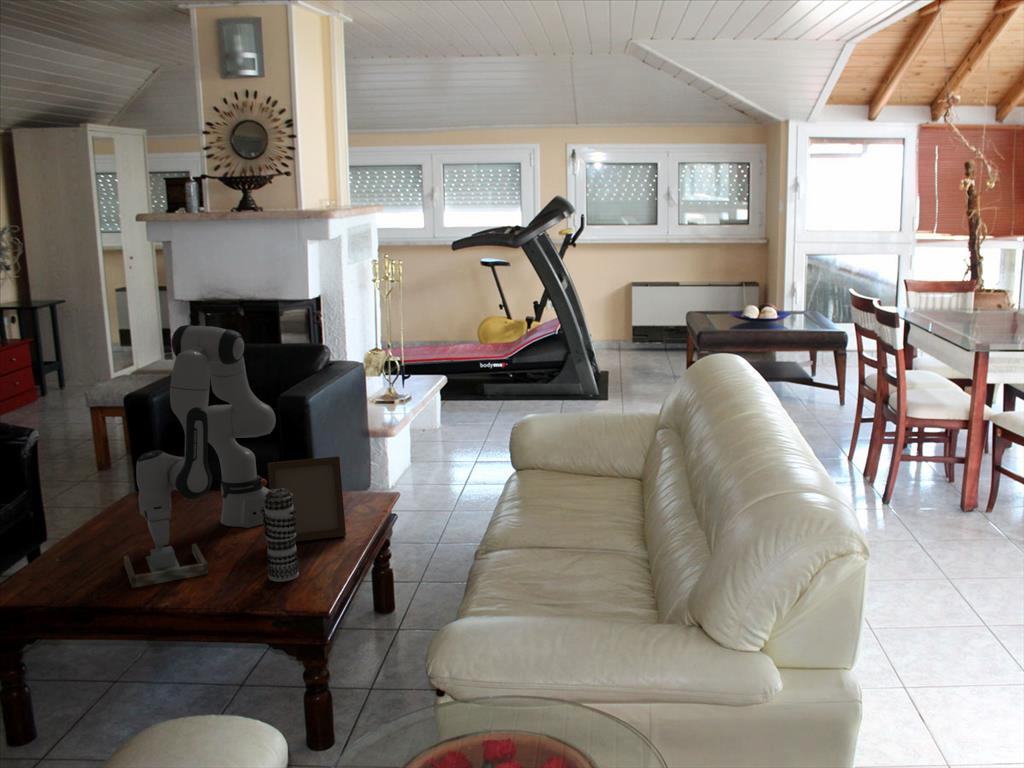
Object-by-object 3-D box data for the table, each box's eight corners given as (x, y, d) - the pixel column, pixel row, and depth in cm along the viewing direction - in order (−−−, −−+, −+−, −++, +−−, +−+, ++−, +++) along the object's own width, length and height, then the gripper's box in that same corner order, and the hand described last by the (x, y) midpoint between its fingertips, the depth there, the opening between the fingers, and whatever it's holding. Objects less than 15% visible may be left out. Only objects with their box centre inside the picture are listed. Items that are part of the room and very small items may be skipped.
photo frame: (346, 538, 308) (341, 460, 303) (274, 547, 302) (268, 467, 298) (341, 524, 322) (336, 449, 317) (272, 532, 316) (266, 456, 312)
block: (172, 558, 294) (171, 545, 294) (175, 565, 289) (174, 552, 288) (151, 562, 292) (150, 549, 291) (154, 569, 286) (152, 556, 286)
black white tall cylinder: (286, 567, 286) (280, 483, 281) (307, 574, 280) (301, 489, 275) (260, 577, 279) (253, 491, 274) (281, 584, 273) (274, 497, 268)
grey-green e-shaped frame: (194, 548, 303) (193, 539, 302) (208, 574, 282) (207, 564, 282) (123, 560, 294) (122, 551, 293) (132, 588, 273) (131, 578, 273)
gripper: (140, 498, 299) (144, 542, 302) (148, 517, 281) (152, 563, 283) (162, 495, 302) (166, 538, 304) (171, 514, 284) (175, 559, 286)
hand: (159, 550), depth 294 cm, fingers closed
